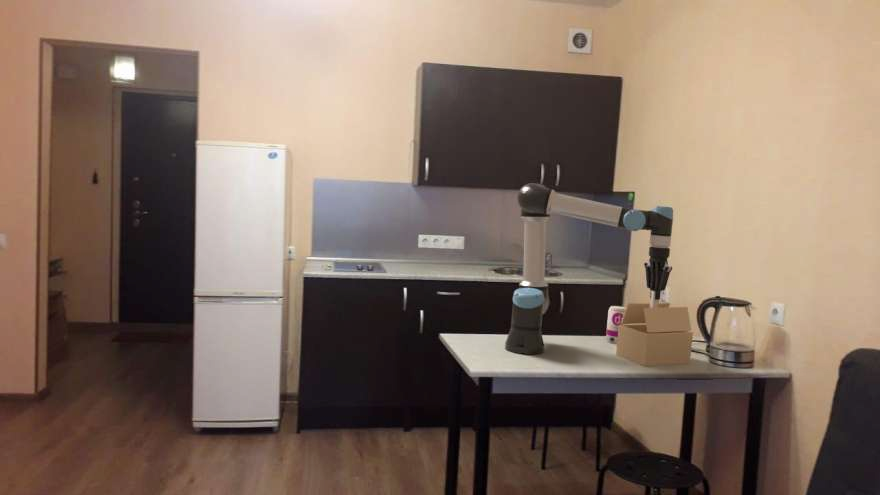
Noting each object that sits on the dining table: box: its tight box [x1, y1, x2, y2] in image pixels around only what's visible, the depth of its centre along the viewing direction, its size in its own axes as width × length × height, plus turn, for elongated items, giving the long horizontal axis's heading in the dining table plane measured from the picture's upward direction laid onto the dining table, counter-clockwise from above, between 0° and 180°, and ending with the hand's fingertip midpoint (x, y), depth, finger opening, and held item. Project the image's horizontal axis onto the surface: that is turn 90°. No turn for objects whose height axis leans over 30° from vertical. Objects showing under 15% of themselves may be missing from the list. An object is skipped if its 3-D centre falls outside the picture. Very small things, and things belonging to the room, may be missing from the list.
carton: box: [615, 323, 694, 367], centre depth 246 cm, size 22×16×12 cm
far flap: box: [621, 302, 671, 325], centre depth 250 cm, size 21×9×1 cm
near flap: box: [644, 306, 692, 332], centre depth 239 cm, size 21×9×1 cm
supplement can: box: [605, 305, 628, 345], centre depth 272 cm, size 8×8×15 cm
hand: (654, 307), depth 246 cm, fingers closed
